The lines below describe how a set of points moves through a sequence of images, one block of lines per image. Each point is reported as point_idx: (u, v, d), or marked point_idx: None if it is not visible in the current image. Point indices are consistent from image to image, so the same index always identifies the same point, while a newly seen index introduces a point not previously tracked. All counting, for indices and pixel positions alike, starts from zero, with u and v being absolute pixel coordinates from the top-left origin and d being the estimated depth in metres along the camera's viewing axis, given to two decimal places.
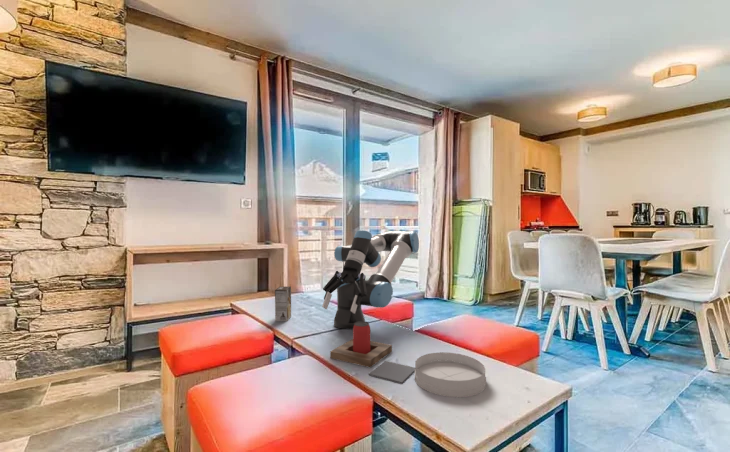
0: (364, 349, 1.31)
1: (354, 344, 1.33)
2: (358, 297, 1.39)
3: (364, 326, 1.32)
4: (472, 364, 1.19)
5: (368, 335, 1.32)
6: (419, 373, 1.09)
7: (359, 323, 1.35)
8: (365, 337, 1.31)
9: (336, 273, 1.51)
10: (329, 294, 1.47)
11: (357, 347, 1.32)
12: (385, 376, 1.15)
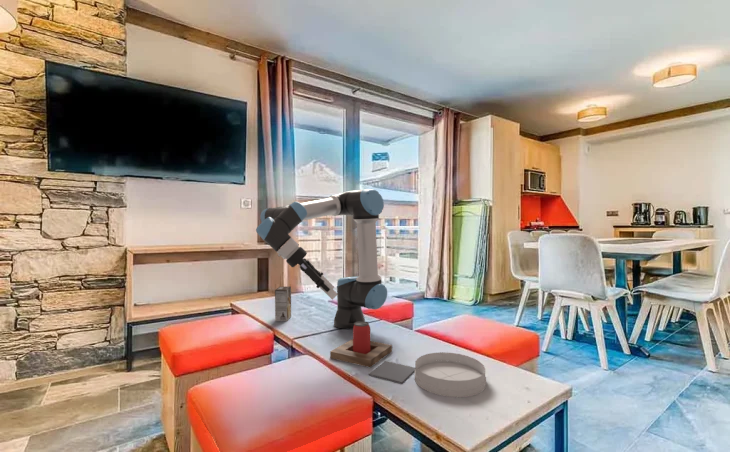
0: (364, 349, 1.31)
1: (354, 344, 1.33)
2: (322, 287, 1.24)
3: (364, 326, 1.32)
4: (472, 364, 1.19)
5: (368, 335, 1.32)
6: (419, 373, 1.09)
7: (359, 323, 1.35)
8: (365, 337, 1.31)
9: None
10: None
11: (357, 347, 1.32)
12: (385, 376, 1.15)
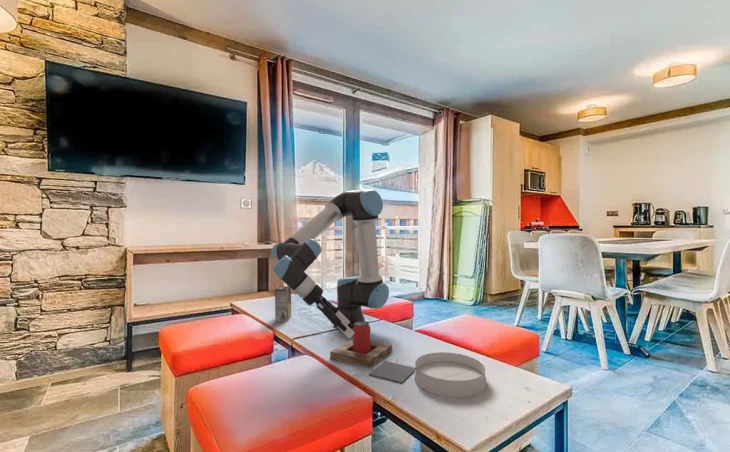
0: (364, 349, 1.31)
1: (354, 344, 1.33)
2: (339, 326, 1.24)
3: (364, 326, 1.32)
4: (472, 364, 1.19)
5: (368, 335, 1.32)
6: (419, 373, 1.09)
7: (359, 323, 1.35)
8: (365, 337, 1.31)
9: None
10: (336, 315, 1.38)
11: (357, 347, 1.32)
12: (385, 376, 1.15)
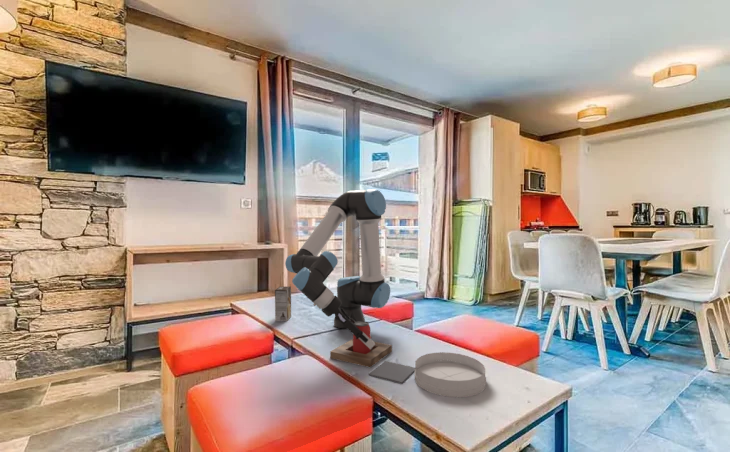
0: (364, 348, 1.31)
1: (354, 344, 1.33)
2: (360, 338, 1.29)
3: (364, 326, 1.32)
4: (472, 364, 1.19)
5: (368, 335, 1.32)
6: (419, 373, 1.09)
7: (359, 323, 1.35)
8: None
9: None
10: None
11: (357, 347, 1.32)
12: (385, 376, 1.15)
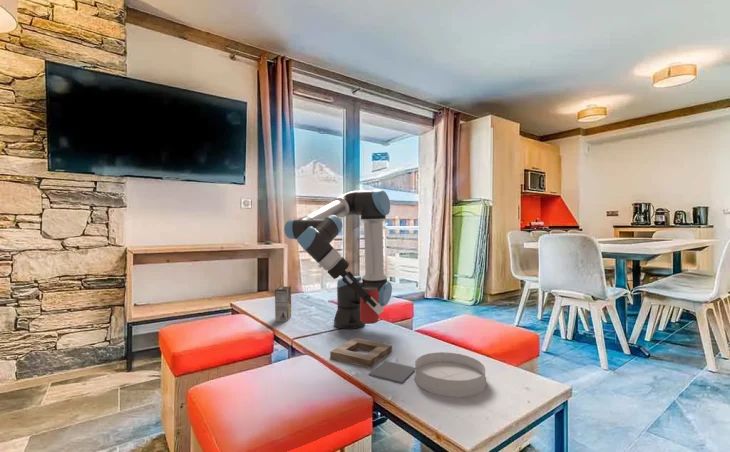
0: (372, 314, 1.23)
1: (361, 309, 1.24)
2: (368, 302, 1.21)
3: (372, 290, 1.23)
4: (472, 364, 1.19)
5: (376, 300, 1.24)
6: (419, 373, 1.09)
7: (367, 288, 1.27)
8: None
9: None
10: None
11: (364, 312, 1.23)
12: (385, 376, 1.15)
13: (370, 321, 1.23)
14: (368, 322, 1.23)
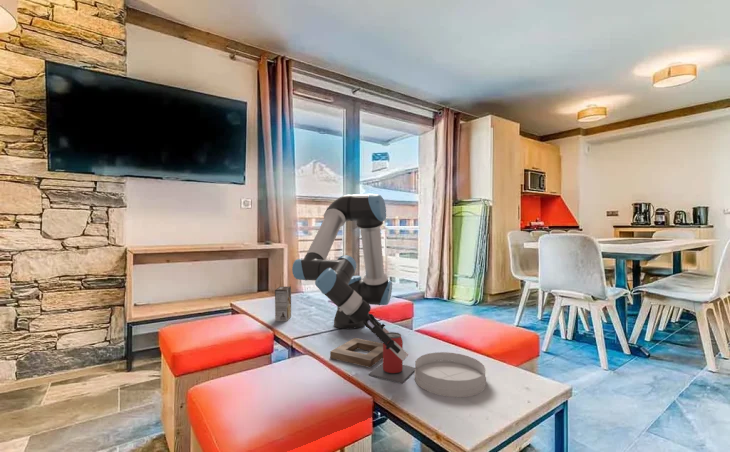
0: (397, 364, 1.16)
1: (384, 358, 1.17)
2: (391, 347, 1.11)
3: (396, 338, 1.16)
4: (472, 364, 1.19)
5: None
6: (419, 372, 1.10)
7: (390, 334, 1.20)
8: None
9: None
10: None
11: (388, 362, 1.16)
12: (385, 376, 1.15)
13: (394, 371, 1.16)
14: (392, 372, 1.16)
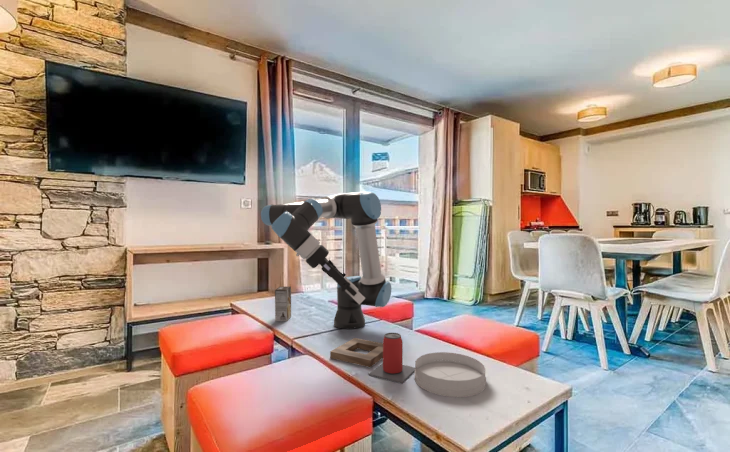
0: (397, 364, 1.16)
1: (384, 359, 1.17)
2: (347, 290, 1.09)
3: (396, 339, 1.16)
4: (472, 364, 1.19)
5: (400, 349, 1.17)
6: (419, 372, 1.10)
7: (390, 335, 1.20)
8: (398, 351, 1.16)
9: None
10: None
11: (388, 362, 1.16)
12: (385, 376, 1.15)
13: (394, 372, 1.16)
14: (392, 373, 1.16)
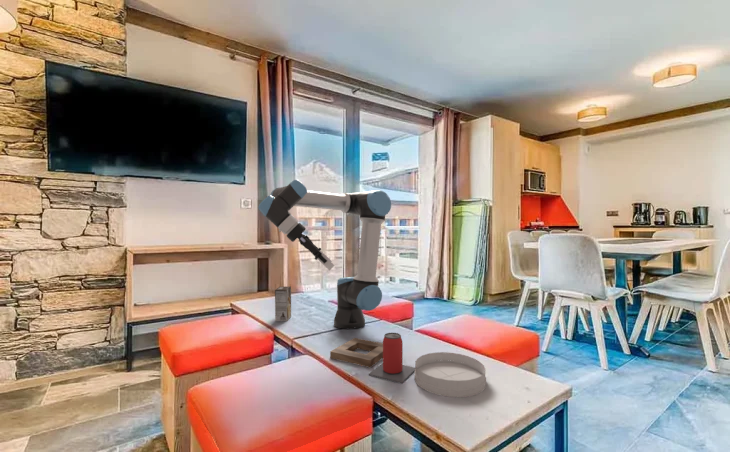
0: (397, 364, 1.16)
1: (384, 359, 1.17)
2: (319, 258, 1.34)
3: (396, 339, 1.16)
4: (472, 364, 1.19)
5: (400, 349, 1.17)
6: (419, 372, 1.10)
7: (389, 335, 1.19)
8: (398, 351, 1.16)
9: None
10: None
11: (388, 363, 1.16)
12: (385, 376, 1.15)
13: (394, 372, 1.16)
14: (392, 373, 1.16)
